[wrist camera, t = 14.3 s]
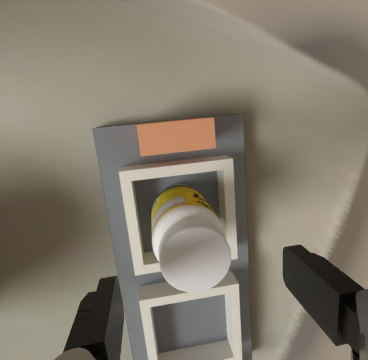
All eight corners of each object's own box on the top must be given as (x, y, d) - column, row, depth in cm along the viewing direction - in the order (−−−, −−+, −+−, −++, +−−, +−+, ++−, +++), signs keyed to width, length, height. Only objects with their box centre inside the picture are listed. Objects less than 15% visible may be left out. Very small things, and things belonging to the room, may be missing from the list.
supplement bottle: (215, 217, 23) (252, 272, 14) (169, 244, 23) (180, 315, 14) (189, 172, 21) (214, 204, 13) (140, 200, 21) (135, 250, 13)
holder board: (96, 127, 21) (78, 130, 16) (237, 114, 22) (265, 112, 17) (138, 375, 27) (136, 437, 22) (246, 353, 29) (269, 406, 23)
